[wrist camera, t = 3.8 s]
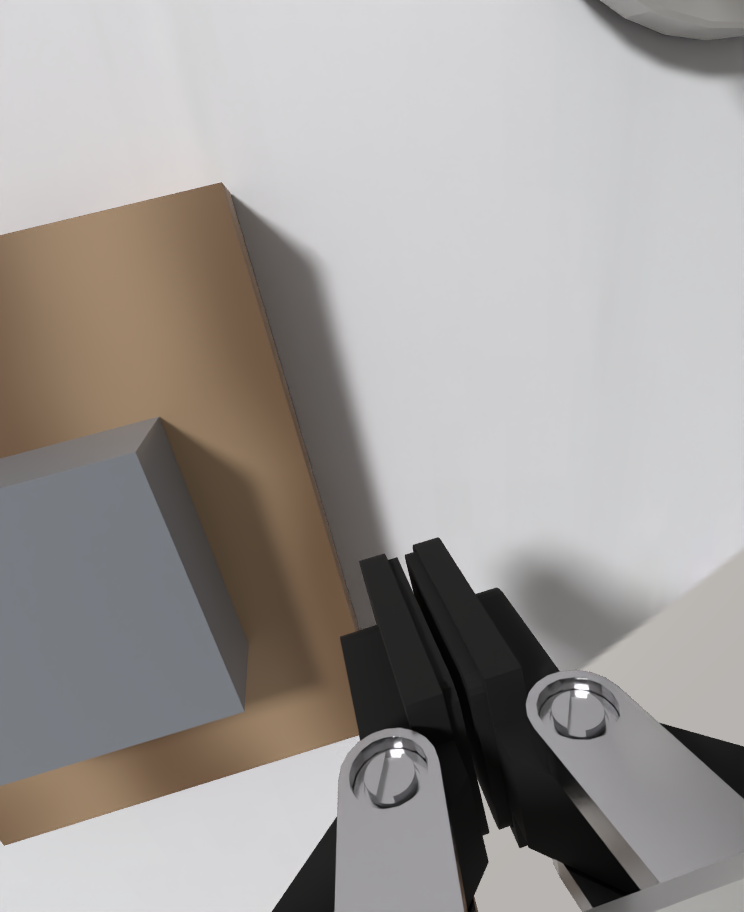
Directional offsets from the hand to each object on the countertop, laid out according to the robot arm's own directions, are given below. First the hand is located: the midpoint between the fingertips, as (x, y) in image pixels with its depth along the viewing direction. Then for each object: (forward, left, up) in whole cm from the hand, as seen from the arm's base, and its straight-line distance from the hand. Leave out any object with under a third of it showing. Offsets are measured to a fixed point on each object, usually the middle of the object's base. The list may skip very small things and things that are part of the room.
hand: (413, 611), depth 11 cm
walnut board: (+7, -1, -7) cm, 10 cm away
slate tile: (+8, -1, -4) cm, 9 cm away
